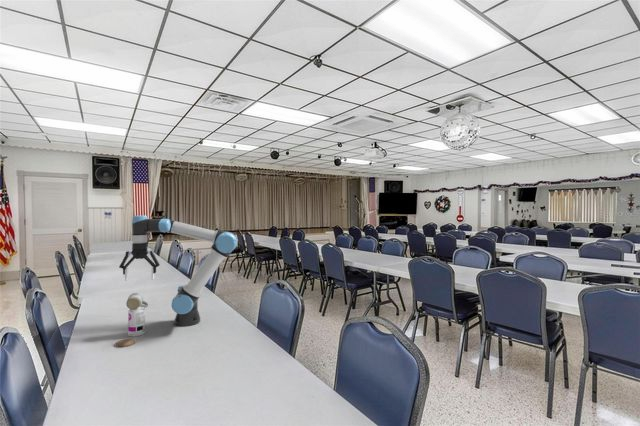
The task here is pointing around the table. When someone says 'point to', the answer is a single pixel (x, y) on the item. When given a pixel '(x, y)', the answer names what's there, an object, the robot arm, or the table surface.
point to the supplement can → (136, 322)
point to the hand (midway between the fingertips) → (139, 279)
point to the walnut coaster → (125, 343)
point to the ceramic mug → (136, 301)
